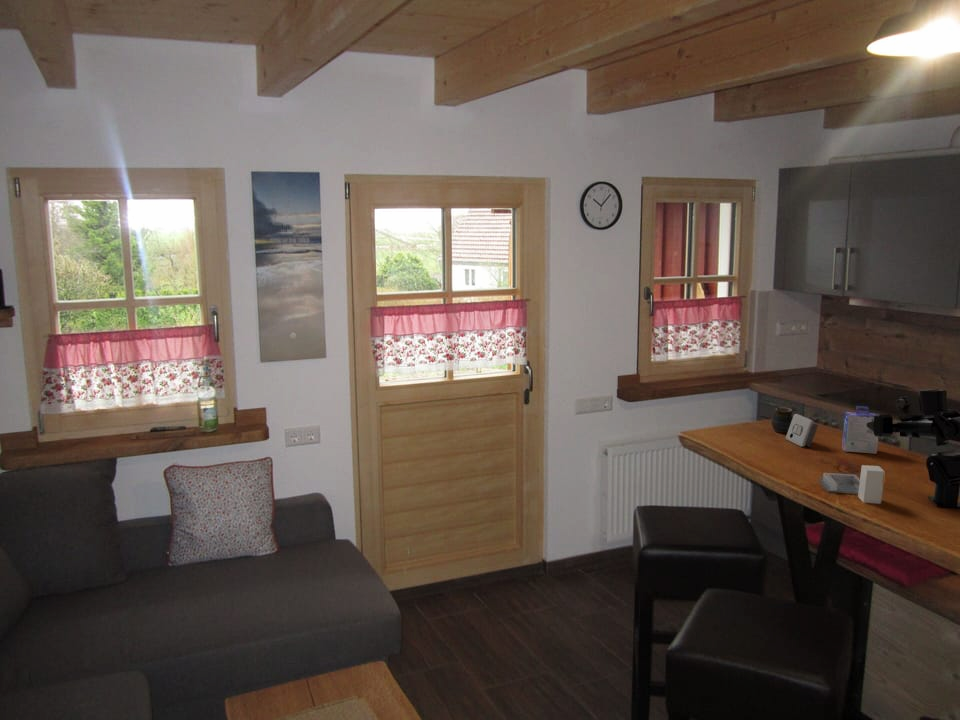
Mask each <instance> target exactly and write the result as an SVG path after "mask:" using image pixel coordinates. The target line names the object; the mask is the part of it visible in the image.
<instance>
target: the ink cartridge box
mask: <svg viewBox="0 0 960 720" xmlns="http://www.w3.org/2000/svg"><path fill="white" fill-rule="evenodd" d="M860 409H864V410H860ZM869 411H870V409H869V406H864V405H856V410H855V412H850V411H845V412H844V423H843V432H842V433H843V434H842V442H841V443H842V444H841V448H842V450H843V452H846V453H847V452H850V453H861V454H862V453H863V454H875V455H876V454H877V453H878V443H879V436H875V435H874V432H873V431H872V430H871V429H869V428H868V427H867V423H868V422H872V421H874V415H875V414H876V413H873V412H869Z"/></svg>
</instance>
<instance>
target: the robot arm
mask: <svg viewBox="0 0 960 720" xmlns="http://www.w3.org/2000/svg"><path fill="white" fill-rule="evenodd" d="M947 392H948V391H947V390H946V389H940V388H932V389H931V388H930V389H919V390H918V396H917V395H906V396H898V397H897V398H898V399H897V400H895V407H896V410H898V411H900V413H901V414H898V417H897V418H898V422H895V423H894V417H893V416H892V414H884V413H883V414H882V413H881V414H880V413H875V415H874V421H872V422H868V423H867V427H868V428H869V429H871V430H872V431H873V432H874V435H875V436H878V438H879V437H883V438H885V437H886V438H891V437H892V436H893V433H899V437H900V438H901V437H903V438H907V437H908V438H917V439H935V443H936V446H937V447H940V446H947V445H949V444H950V441H953V442H958V443H960V412H959V411H958V410H956V409H955V408H952V409H948V399H947V397H948V396H947V395H948V393H947ZM925 467H926V469H927V473H928V478H929V481H930V482H933V483H934V493H933V496H927V499H928V500H929V501H931V502H932V504H934V505H935V506H936V507H938V508H955V509H960V502H959V498H960V452H959V451H958V450H957V451H956V450H954V449H950V450H949V449H948V450H944V451H943V450H942V451H940V452H939V451H938V452H937V453H934V454H933V453H932V454H930V455H929V456H928V457H927V459H926V462H925Z"/></svg>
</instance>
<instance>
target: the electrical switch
mask: <svg viewBox="0 0 960 720" xmlns="http://www.w3.org/2000/svg"><path fill="white" fill-rule="evenodd" d="M792 418H793V419H792V422H791V424H790V427H789V430H788V433H786V436H785V440H787V441H788V442H790V443H793V444H795V445H797V446H799V447H801V448H805V446H806V447H811V446H812V443H813V441H814V438H815V435H816V432H817V430H818V427H819V424H817V423H816V422H814V420H812V419H810V418H808V417H806V416H803V415H800V414H797V413H794V414H793V416H792Z"/></svg>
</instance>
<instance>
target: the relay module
mask: <svg viewBox="0 0 960 720" xmlns="http://www.w3.org/2000/svg"><path fill="white" fill-rule="evenodd" d="M885 473H886V472H885V471H884V469H882V467H881V466H879V465H867V464H866V465H864V464H861V469H860V476H859V478H860V484H859V493H858V494H857V497H858V499H860V501H861V502H862V503H863V504H864V503H865V504H879V505H880V504H882V499H883V488H884V484H886V474H885Z"/></svg>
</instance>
